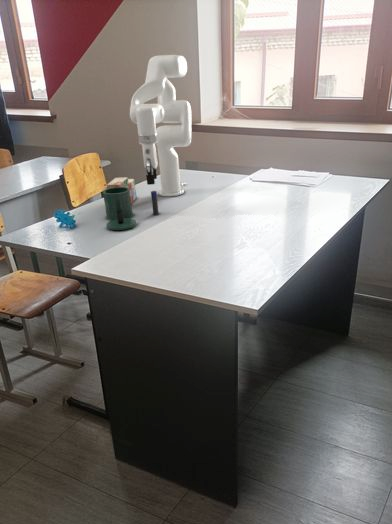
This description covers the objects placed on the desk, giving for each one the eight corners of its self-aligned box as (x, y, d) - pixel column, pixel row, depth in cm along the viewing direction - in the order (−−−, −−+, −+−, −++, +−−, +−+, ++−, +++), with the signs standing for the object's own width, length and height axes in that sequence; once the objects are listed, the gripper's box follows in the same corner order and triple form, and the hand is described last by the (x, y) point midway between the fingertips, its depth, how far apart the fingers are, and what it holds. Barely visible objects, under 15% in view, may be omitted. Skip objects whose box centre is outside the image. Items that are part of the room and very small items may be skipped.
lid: (124, 219, 223) (122, 205, 219) (142, 225, 215) (140, 210, 211) (100, 227, 216) (98, 212, 212) (118, 233, 208) (116, 217, 204)
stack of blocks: (125, 198, 253) (121, 172, 246) (137, 198, 252) (133, 172, 245) (110, 211, 235) (106, 184, 229) (123, 211, 234) (119, 184, 228)
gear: (65, 228, 212) (50, 209, 212) (58, 237, 215) (44, 218, 216) (82, 224, 220) (69, 206, 221) (76, 232, 224) (63, 214, 224)
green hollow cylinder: (122, 211, 234) (119, 185, 228) (138, 215, 227) (134, 189, 221) (101, 217, 228) (97, 191, 222) (117, 222, 220) (113, 195, 214)
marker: (156, 212, 229) (154, 190, 223) (159, 213, 227) (157, 191, 222) (152, 214, 227) (149, 191, 222) (155, 215, 226) (153, 192, 220)
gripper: (154, 142, 203) (159, 186, 212) (158, 135, 218) (162, 176, 226) (136, 143, 203) (141, 187, 212) (141, 136, 218) (145, 177, 227)
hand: (152, 181), depth 219 cm, fingers open, 9 cm apart
